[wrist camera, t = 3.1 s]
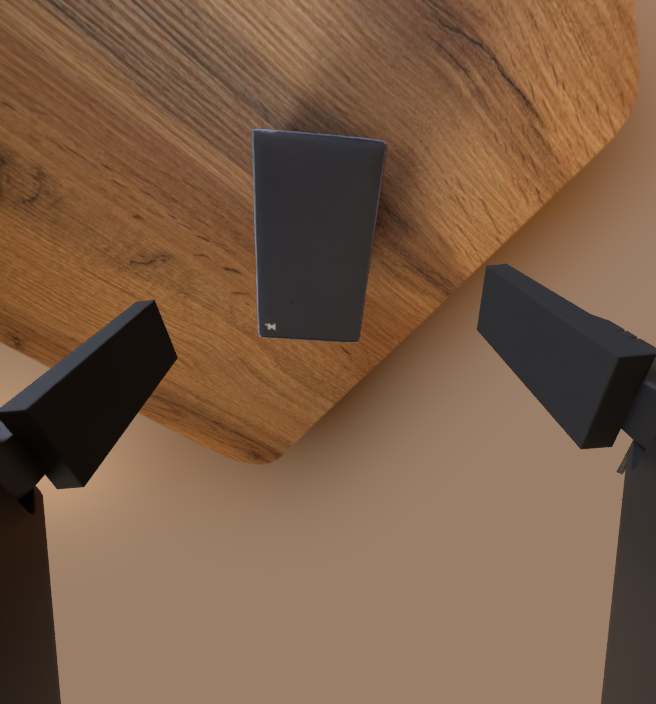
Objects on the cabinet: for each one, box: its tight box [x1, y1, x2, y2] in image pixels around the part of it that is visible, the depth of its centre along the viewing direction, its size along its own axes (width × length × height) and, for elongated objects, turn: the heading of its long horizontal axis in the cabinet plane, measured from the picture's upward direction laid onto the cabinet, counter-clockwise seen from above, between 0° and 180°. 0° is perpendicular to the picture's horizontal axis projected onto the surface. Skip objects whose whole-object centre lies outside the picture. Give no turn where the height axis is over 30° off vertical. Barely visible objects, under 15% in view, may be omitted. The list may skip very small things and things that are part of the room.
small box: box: [252, 128, 387, 343], centre depth 21 cm, size 11×6×10 cm, turn 176°
